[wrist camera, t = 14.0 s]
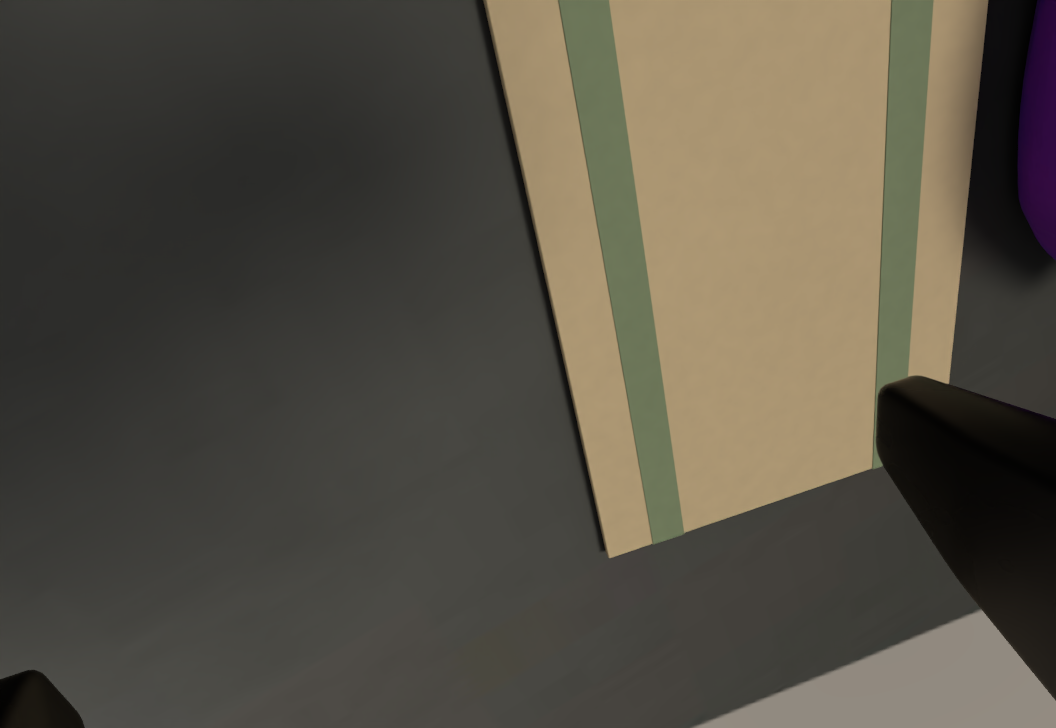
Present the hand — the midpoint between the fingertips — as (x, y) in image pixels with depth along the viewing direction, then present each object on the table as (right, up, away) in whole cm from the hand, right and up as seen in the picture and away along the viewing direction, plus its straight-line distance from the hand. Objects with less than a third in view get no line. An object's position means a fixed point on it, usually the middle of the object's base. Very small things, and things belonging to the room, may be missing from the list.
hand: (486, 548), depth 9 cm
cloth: (+6, +6, +11) cm, 14 cm away
